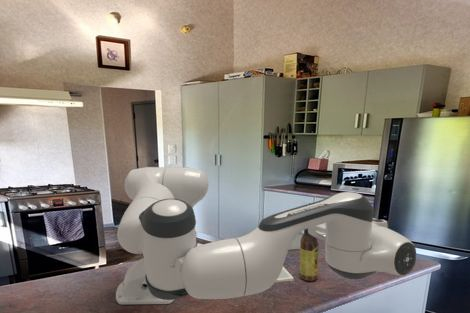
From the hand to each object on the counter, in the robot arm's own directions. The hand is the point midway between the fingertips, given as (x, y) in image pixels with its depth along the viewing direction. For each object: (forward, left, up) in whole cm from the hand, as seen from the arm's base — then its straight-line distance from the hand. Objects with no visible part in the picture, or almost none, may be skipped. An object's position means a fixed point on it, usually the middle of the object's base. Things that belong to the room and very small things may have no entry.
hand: (329, 220), depth 90 cm
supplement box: (+6, +40, -24) cm, 47 cm away
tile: (-12, +17, -24) cm, 32 cm away
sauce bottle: (0, +12, -24) cm, 27 cm away
